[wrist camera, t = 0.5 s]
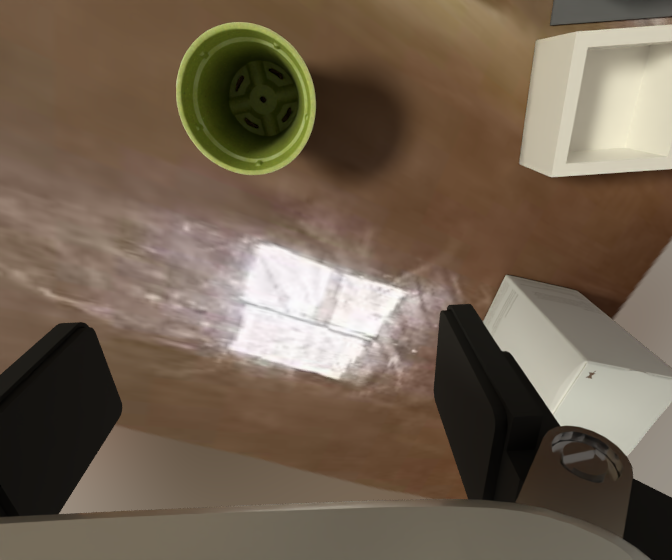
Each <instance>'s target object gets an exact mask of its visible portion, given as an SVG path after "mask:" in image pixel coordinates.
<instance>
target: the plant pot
mask: <svg viewBox="0 0 672 560" xmlns="http://www.w3.org/2000/svg"><path fill="white" fill-rule="evenodd" d="M271 68H272V69H274V70H276V71H278V72H279V73H281V74H282V76H283V80H281V79H280V78H279V77H278V76H276V75H275V74H273V73H272V72H270V71H269V69H271ZM241 76H244V80H243V81H242V83H241V85H240V87H239V89H238V91H236V83H237V81H238V79H239V78H240V77H241ZM262 96H264V97H265V98H266V102H264V103H263V102H261V101H260V98H261V97H262ZM176 97H177V106H178V111H179V115H180V118H181V121H182V123H183V126H184V128H185V130H186V132H187V134H188V135H189V137H190V138H191V140H192V141H193V143H194V144H195V145H196V147H197V148H198V149H199V150H200V151H201V152H202V153H203V154H204V155H205V156H206V157H207V158H208V159H210V160H211V161H212V162H214V163H216V164H217V165H219V166H221V167H222V168H225V169H227V170H229V171H232V172H236V173H239V174H245V175H261V174H267V173H271V172H274V171H277V170H279V169H281V168H283V167H285V166H286V165H288V164H289V163H290V162H291V161H293V160H294V159H295V158H296V157H297V156H298V155H299V153H300V152H301V151H302V150H303V148H304V147H305V145H306V143H307V141H308V139H309V137H310V135H311V132H312V129H313V125H314V121H315V114H316V96H315V89H314V84H313V81H312V78H311V75H310V72H309V70H308V68H307V66H306V64H305V62H304V60H303V59H302V57H301V56H300V54H299V53H298V52H297V51H296V49H295V48H294V47H293V46H292V45H291V44H290V43H289V42H288V41H287V40H285V39H284V38H283V37H282V36H280V35H279V34H277V33H276V32H274V31H272V30H270V29H268V28H266V27H263V26H260V25H257V24H253V23H246V22H233V23H226V24H223V25H219V26H216V27H214V28H212V29H210V30H208V31H206V32H205V33H203V34H202V35H201V36H200V37H198V38H197V39H196V40H195V41H194V42H193V44H192V45H191V46H190V48H189V49H188V50H187V52H186V54H185V56H184V57H183V60H182V62H181V65H180V68H179V71H178V76H177V82H176ZM289 107H290V108H291V115H290V116H289V118H288V119H287V121H285V122H282V119H283V118H284V116H285V115H286V113H287V111H288V108H289ZM245 118H247V119H248V120H250V121H251V122H252V123H254V124H255V125H258V127H259V128H257V129H256V128H254V127H252V126H250V125H248V124H247V123H246V122H245Z"/></svg>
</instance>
